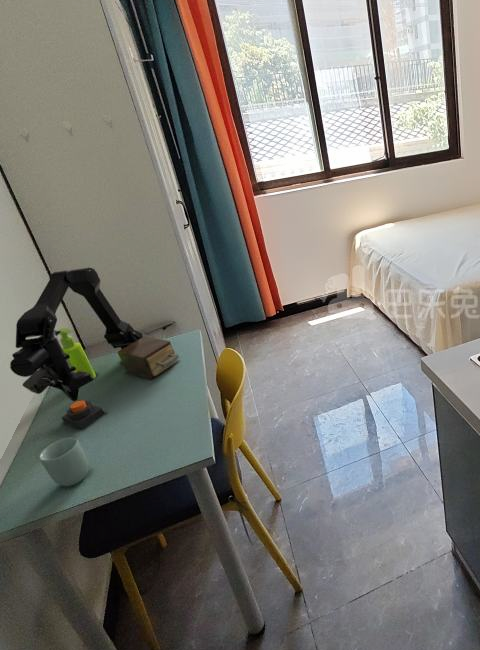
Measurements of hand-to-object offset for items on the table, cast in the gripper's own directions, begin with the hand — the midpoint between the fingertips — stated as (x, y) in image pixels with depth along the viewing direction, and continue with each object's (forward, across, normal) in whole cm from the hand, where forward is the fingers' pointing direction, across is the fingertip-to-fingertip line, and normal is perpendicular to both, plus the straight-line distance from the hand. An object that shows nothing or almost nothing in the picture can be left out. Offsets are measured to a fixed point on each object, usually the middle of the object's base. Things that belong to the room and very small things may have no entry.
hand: (75, 400), depth 130 cm
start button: (+3, 0, 0) cm, 3 cm away
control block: (+7, 0, 0) cm, 7 cm away
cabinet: (+7, -4, +27) cm, 28 cm away
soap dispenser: (+7, -22, +14) cm, 27 cm away
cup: (+7, +23, -16) cm, 29 cm away
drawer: (+6, 0, +27) cm, 27 cm away
